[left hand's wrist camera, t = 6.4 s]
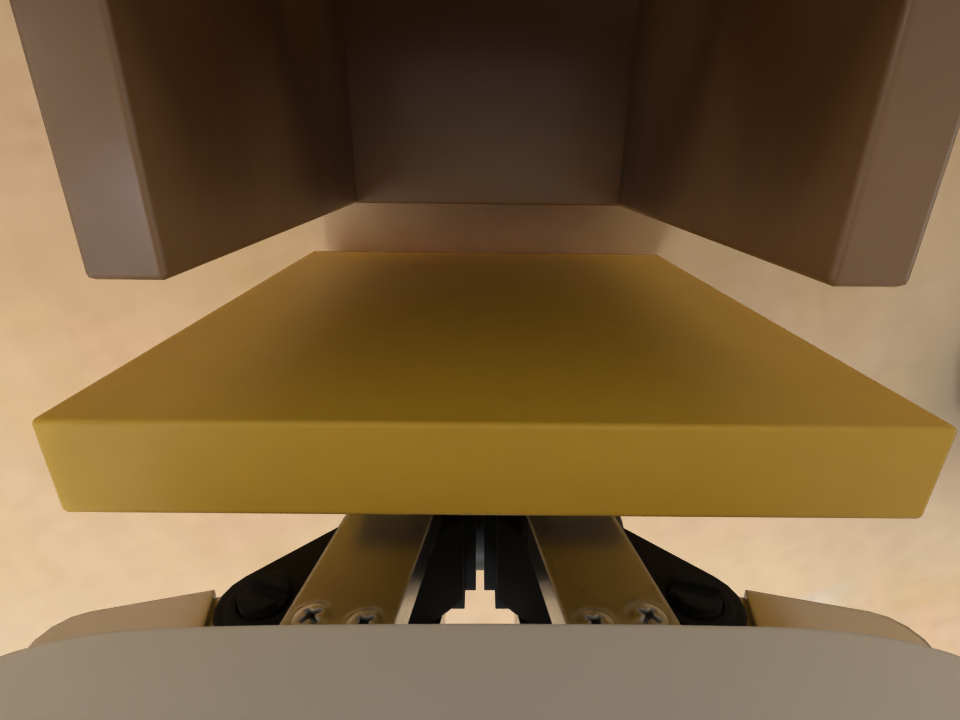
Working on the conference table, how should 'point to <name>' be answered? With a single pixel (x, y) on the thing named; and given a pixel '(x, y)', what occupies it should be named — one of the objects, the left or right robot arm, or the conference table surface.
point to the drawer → (495, 276)
